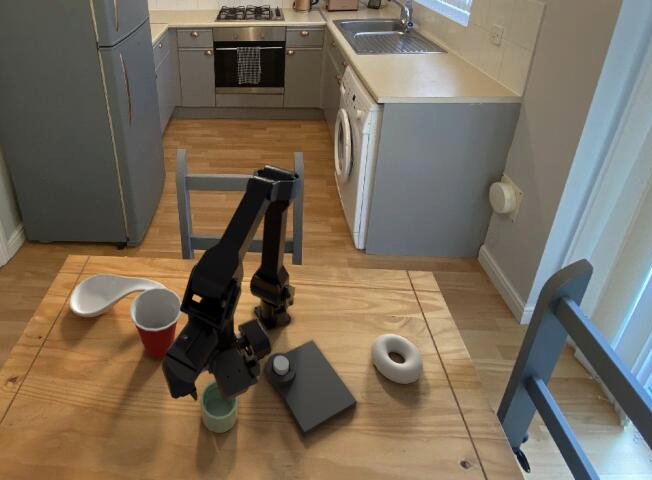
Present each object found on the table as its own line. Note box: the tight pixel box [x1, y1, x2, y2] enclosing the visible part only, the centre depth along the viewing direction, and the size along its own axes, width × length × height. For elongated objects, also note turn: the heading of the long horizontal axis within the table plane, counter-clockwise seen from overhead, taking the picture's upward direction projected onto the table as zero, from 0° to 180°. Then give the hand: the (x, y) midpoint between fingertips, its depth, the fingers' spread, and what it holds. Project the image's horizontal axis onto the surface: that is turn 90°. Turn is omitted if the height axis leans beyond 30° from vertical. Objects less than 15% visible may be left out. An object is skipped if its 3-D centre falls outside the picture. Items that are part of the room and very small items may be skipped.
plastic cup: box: [129, 287, 182, 360], centre depth 89 cm, size 11×11×12 cm
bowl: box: [200, 379, 239, 434], centre depth 78 cm, size 7×7×4 cm
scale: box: [264, 339, 358, 437], centre depth 82 cm, size 14×13×3 cm
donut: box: [370, 333, 424, 385], centre depth 86 cm, size 10×3×10 cm
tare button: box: [273, 356, 289, 375], centre depth 84 cm, size 3×3×2 cm
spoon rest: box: [68, 273, 167, 318], centre depth 100 cm, size 24×12×7 cm, turn 89°
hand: (219, 386), depth 76 cm, fingers open, 9 cm apart
